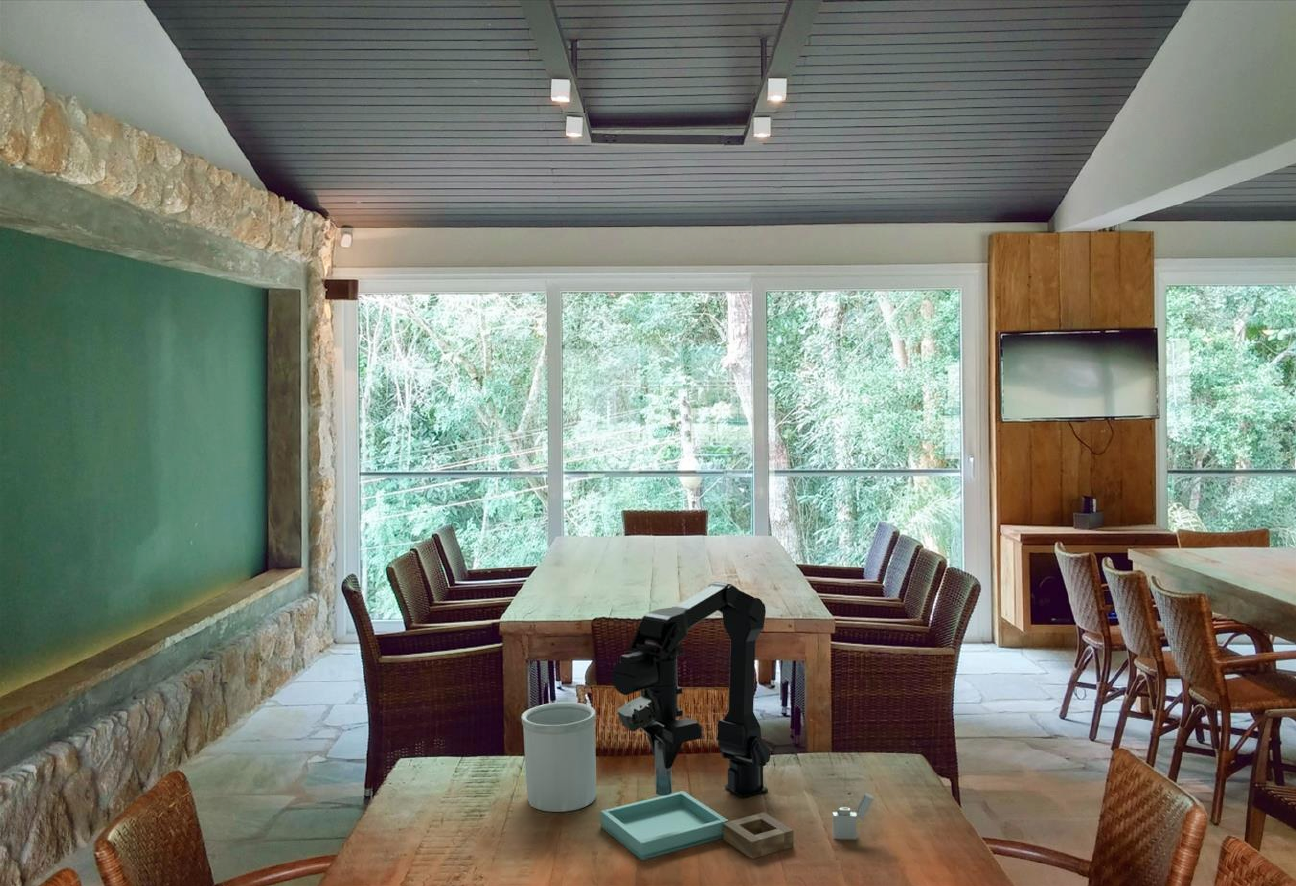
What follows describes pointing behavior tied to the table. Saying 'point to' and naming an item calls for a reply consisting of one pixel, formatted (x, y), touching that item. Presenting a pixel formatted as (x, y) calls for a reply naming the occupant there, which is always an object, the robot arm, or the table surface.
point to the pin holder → (758, 835)
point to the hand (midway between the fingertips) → (663, 765)
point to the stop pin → (662, 772)
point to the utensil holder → (560, 756)
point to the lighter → (849, 819)
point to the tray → (663, 824)
